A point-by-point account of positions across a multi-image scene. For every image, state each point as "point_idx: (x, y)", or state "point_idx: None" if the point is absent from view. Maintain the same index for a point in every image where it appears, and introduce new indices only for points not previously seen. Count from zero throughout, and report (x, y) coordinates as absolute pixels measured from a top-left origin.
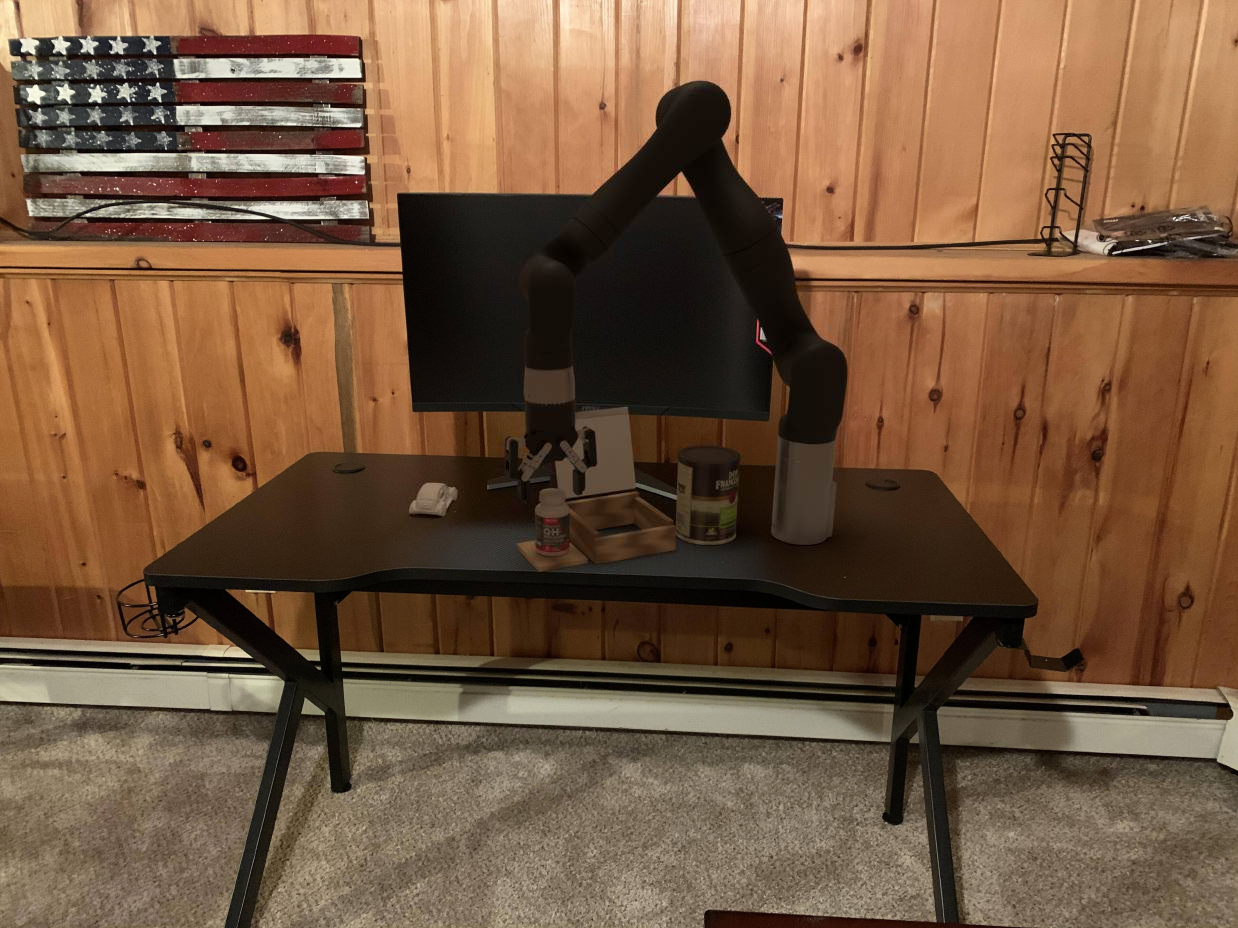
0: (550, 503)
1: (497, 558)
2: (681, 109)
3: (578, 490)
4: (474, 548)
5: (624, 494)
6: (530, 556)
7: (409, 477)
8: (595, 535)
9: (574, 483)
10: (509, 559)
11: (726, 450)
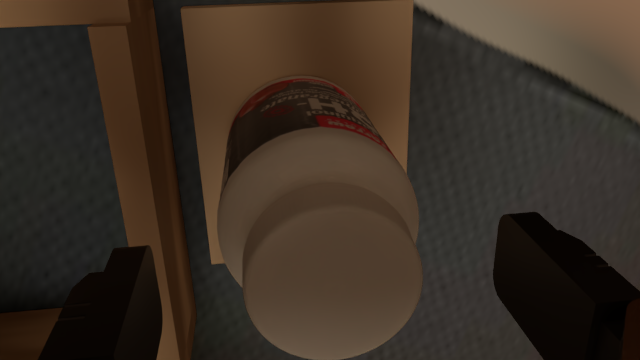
0: (371, 193)
1: (494, 178)
2: None
3: (141, 260)
4: None
5: None
6: (402, 118)
7: None
8: (116, 23)
9: (148, 344)
10: (460, 155)
11: None
